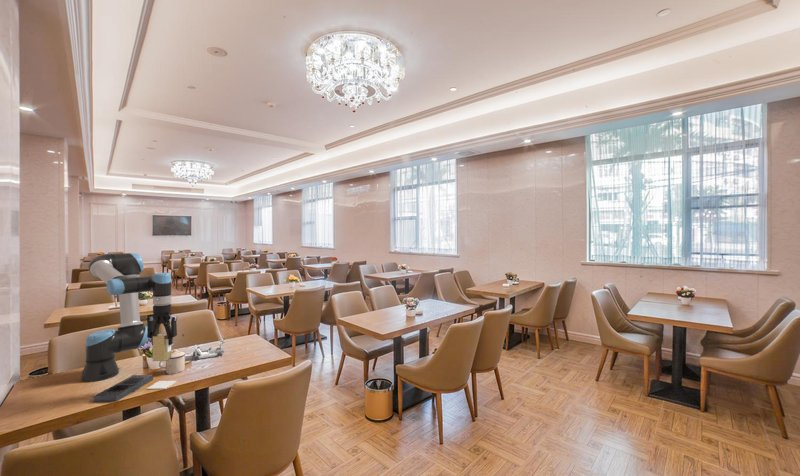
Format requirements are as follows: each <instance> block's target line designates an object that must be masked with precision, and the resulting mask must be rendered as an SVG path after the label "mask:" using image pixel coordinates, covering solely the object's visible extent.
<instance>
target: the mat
mask: <svg viewBox="0 0 800 476" xmlns="http://www.w3.org/2000/svg"><path fill="white" fill-rule="evenodd" d="M175 383H177V380H158V381H157V382H154V383H153V384H152V385H150V386H148V387H146V390H166V389H168V388H170V387H171V386H172V385H174V384H175ZM167 387H168V388H167Z"/></svg>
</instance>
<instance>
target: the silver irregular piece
mask: <svg viewBox="0 0 800 476" xmlns="http://www.w3.org/2000/svg"><path fill="white" fill-rule="evenodd" d="M225 343H226V338H222V337H221V338H220V340H219V342H218V343H217V344H218V345H219V347H217V348H216V349H214V350H213V349H212V347H209V348H208V349H206V350H202V349H201V348H200V346H198V345H197V344H195V345H194V351H193V353H192V355H193V358H192V360H193V361H194V362H195V361H198V360H200V359H205V358H206V359H207V358H212V357H217V358H219V357H218V356H221V357H223V353H224V352H225V350H224V348H221V347H222V345H224V344H225ZM194 355H195V356H194Z"/></svg>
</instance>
